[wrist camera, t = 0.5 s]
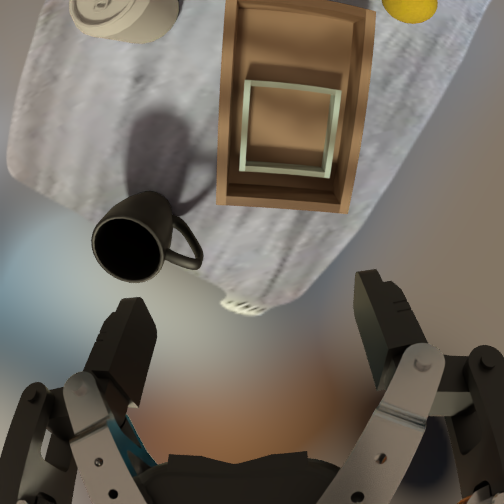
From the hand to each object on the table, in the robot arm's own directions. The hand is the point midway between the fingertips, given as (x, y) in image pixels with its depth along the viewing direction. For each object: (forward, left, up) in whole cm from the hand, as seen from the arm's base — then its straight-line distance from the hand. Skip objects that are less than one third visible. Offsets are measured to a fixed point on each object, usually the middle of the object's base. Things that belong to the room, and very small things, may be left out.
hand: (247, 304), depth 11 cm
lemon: (-19, +15, -26) cm, 36 cm away
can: (-15, -12, -26) cm, 33 cm away
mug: (+10, -10, -26) cm, 30 cm away
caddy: (-5, +4, -26) cm, 27 cm away
